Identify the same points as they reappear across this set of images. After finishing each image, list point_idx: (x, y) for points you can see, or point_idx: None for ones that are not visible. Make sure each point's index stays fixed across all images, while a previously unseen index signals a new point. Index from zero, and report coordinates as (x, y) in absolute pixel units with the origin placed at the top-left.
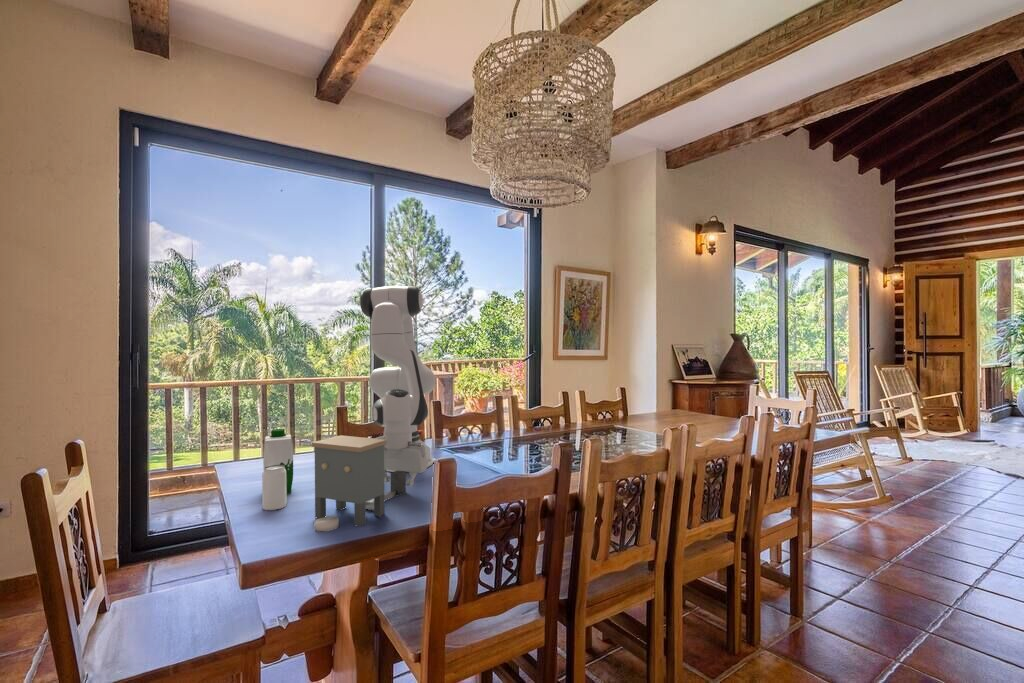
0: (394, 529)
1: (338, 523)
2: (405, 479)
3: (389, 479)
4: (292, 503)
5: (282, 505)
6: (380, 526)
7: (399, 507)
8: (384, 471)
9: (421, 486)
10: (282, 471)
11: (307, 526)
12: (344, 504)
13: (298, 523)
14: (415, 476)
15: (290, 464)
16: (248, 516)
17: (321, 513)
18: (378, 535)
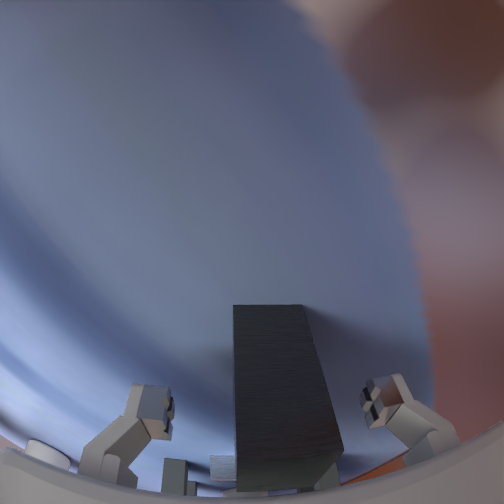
0: (384, 460)
1: (265, 493)
2: (324, 384)
3: (166, 396)
4: (44, 438)
5: (67, 462)
6: (352, 468)
7: (357, 422)
8: (116, 454)
9: (347, 125)
10: None
11: (207, 494)
12: (186, 473)
13: None
14: (434, 412)
15: None
16: (72, 470)
17: (196, 494)
18: (363, 474)
